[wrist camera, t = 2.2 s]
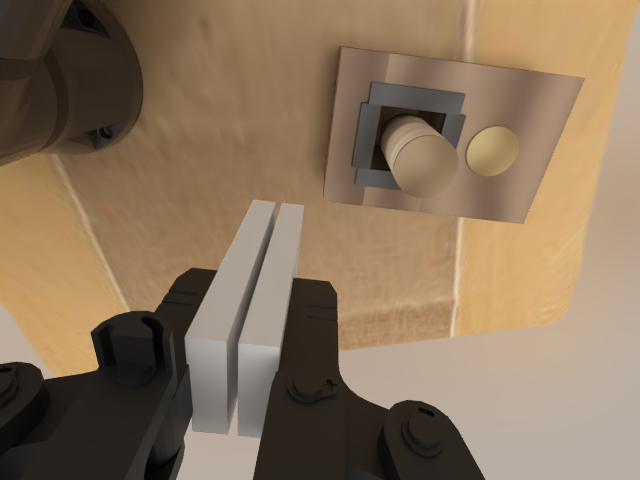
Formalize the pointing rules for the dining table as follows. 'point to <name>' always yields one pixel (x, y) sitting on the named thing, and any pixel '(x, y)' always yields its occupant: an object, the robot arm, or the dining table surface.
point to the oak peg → (418, 156)
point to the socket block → (447, 131)
